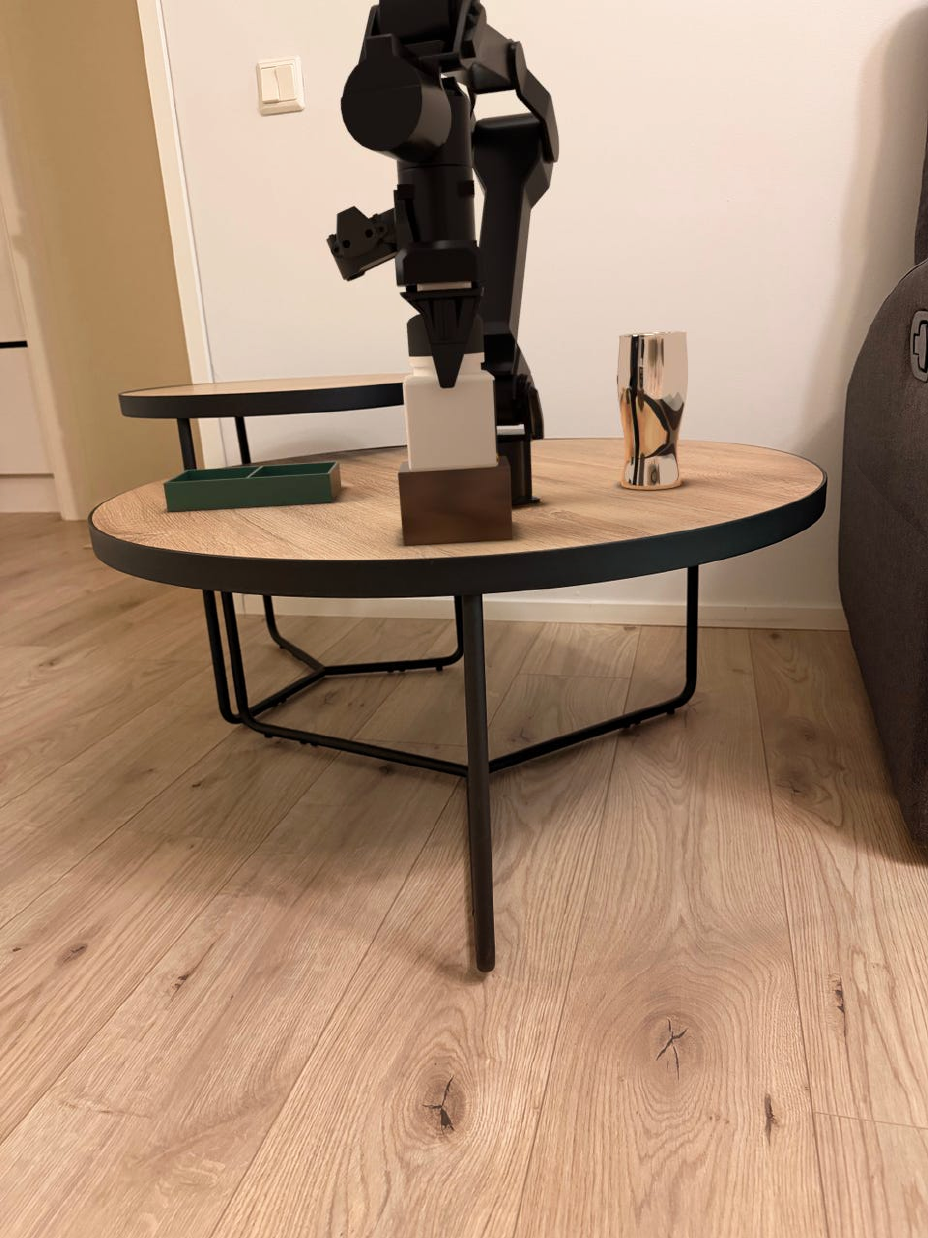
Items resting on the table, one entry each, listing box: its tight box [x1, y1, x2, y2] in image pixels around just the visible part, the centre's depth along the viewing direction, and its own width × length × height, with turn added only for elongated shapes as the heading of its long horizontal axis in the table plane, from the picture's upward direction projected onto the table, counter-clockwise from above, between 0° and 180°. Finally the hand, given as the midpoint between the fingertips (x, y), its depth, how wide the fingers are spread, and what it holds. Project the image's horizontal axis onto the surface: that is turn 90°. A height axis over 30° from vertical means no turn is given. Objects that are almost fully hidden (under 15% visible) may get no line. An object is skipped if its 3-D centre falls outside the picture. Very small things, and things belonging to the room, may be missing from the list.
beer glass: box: [616, 330, 689, 491], centre depth 93 cm, size 7×7×15 cm
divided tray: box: [163, 461, 342, 513], centre depth 99 cm, size 17×9×3 cm, turn 91°
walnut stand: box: [397, 456, 514, 546], centre depth 77 cm, size 9×6×6 cm, turn 91°
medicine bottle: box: [402, 313, 498, 472], centre depth 74 cm, size 7×7×12 cm
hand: (447, 384), depth 74 cm, fingers open, 9 cm apart
